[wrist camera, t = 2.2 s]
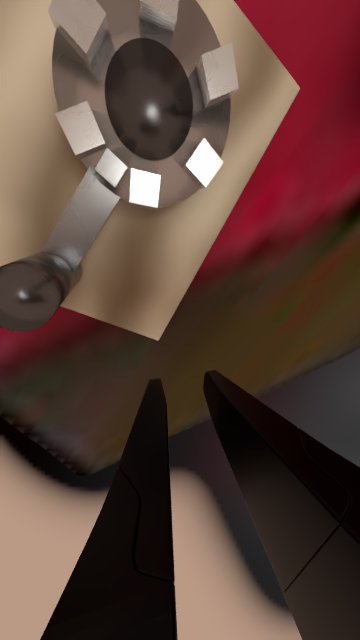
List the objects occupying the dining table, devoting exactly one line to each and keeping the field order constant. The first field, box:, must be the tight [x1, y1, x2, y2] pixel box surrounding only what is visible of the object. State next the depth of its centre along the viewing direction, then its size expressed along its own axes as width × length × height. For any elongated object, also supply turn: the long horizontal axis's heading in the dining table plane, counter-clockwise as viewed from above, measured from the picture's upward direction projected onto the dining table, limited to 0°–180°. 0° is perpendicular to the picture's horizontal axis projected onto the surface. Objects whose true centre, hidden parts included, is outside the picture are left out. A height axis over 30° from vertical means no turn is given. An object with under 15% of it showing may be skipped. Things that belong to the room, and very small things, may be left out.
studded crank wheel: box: [0, 0, 239, 331], centre depth 11 cm, size 17×9×7 cm, turn 141°
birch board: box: [0, 0, 300, 341], centre depth 13 cm, size 22×22×2 cm
